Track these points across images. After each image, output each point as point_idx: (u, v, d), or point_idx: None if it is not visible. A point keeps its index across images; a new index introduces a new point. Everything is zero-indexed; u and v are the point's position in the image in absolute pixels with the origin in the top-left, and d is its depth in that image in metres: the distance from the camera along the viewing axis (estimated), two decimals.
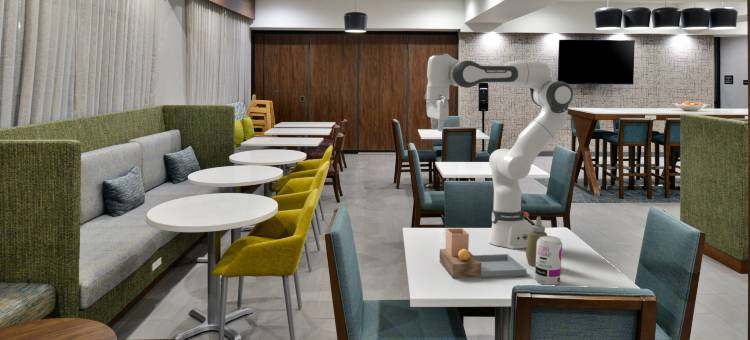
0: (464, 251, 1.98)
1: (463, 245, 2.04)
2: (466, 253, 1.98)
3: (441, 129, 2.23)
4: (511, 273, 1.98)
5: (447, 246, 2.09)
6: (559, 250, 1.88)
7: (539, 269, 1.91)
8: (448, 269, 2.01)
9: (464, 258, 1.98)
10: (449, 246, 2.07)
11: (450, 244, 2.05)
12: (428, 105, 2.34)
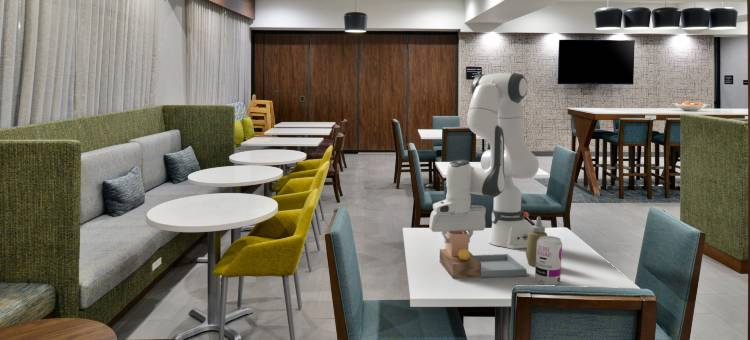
0: (464, 251, 1.98)
1: (463, 245, 2.04)
2: (466, 253, 1.98)
3: None
4: (511, 273, 1.98)
5: (447, 246, 2.09)
6: (559, 250, 1.88)
7: (539, 269, 1.91)
8: (448, 269, 2.01)
9: (464, 258, 1.98)
10: (449, 246, 2.07)
11: (450, 244, 2.05)
12: (438, 219, 2.04)
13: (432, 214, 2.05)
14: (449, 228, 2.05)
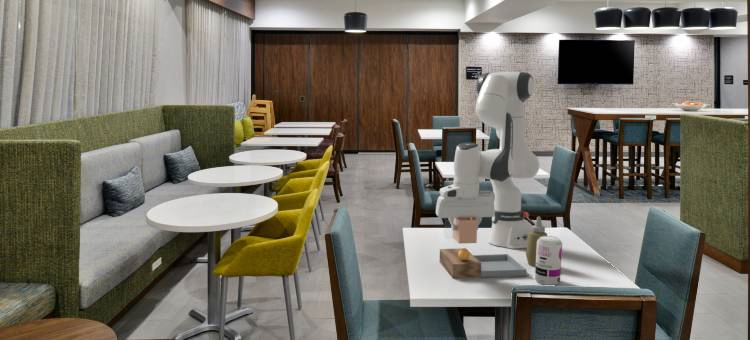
0: (464, 251, 1.98)
1: (471, 232, 1.94)
2: (466, 253, 1.98)
3: None
4: (511, 273, 1.98)
5: (454, 233, 1.99)
6: (559, 250, 1.88)
7: (539, 269, 1.91)
8: (448, 269, 2.01)
9: (464, 258, 1.98)
10: (456, 233, 1.97)
11: (458, 231, 1.95)
12: (445, 204, 1.94)
13: (439, 199, 1.95)
14: (457, 214, 1.95)
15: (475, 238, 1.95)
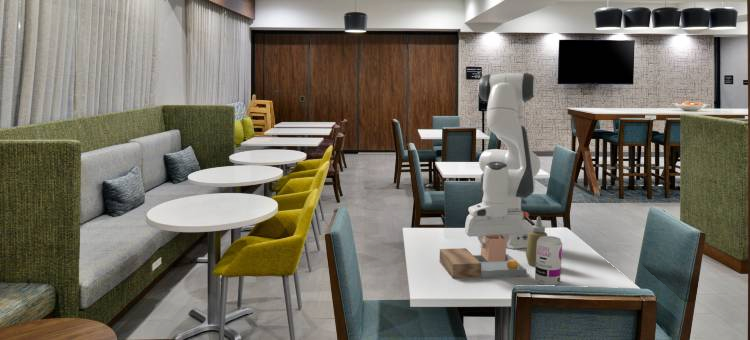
0: None
1: (500, 250, 1.97)
2: None
3: None
4: (511, 273, 1.98)
5: (483, 251, 2.02)
6: (559, 250, 1.88)
7: (539, 269, 1.91)
8: (448, 269, 2.01)
9: (515, 264, 2.01)
10: (485, 251, 2.00)
11: (487, 249, 1.98)
12: (475, 223, 1.97)
13: (468, 218, 1.98)
14: (486, 232, 1.98)
15: (503, 256, 1.98)
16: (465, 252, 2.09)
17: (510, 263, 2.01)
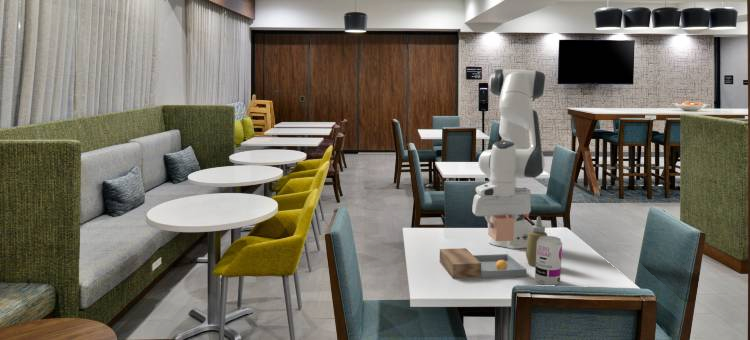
0: (506, 264, 2.01)
1: (508, 230, 1.97)
2: (505, 267, 2.01)
3: None
4: (511, 273, 1.98)
5: (490, 231, 2.02)
6: (559, 250, 1.88)
7: (539, 269, 1.91)
8: (448, 269, 2.01)
9: (500, 267, 2.00)
10: (493, 230, 1.99)
11: (494, 229, 1.97)
12: (482, 202, 1.96)
13: (475, 198, 1.97)
14: (493, 212, 1.97)
15: (511, 235, 1.97)
16: (465, 252, 2.09)
17: None
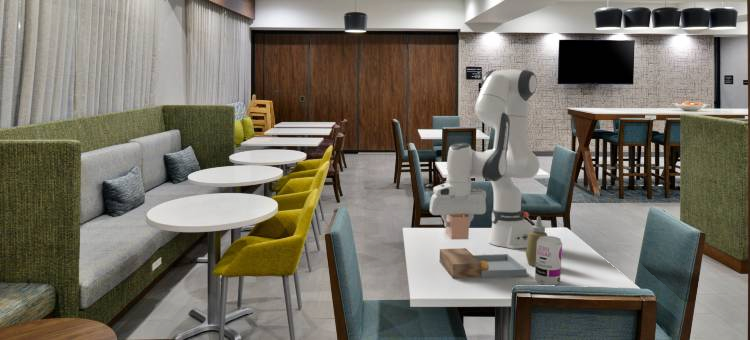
0: None
1: (463, 228, 2.03)
2: (481, 268, 1.99)
3: None
4: (511, 273, 1.98)
5: (447, 230, 2.08)
6: (559, 250, 1.88)
7: (539, 269, 1.91)
8: (448, 269, 2.01)
9: (487, 267, 2.00)
10: (449, 229, 2.06)
11: (450, 227, 2.04)
12: (438, 202, 2.03)
13: (432, 197, 2.04)
14: (449, 211, 2.04)
15: (466, 234, 2.04)
16: (465, 252, 2.09)
17: (484, 262, 2.00)
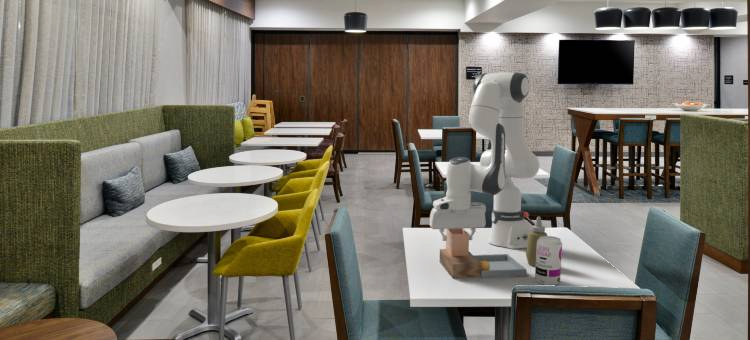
0: (481, 269, 2.00)
1: (463, 245, 2.04)
2: (483, 267, 1.99)
3: None
4: (511, 273, 1.98)
5: (447, 246, 2.09)
6: (559, 250, 1.88)
7: (539, 269, 1.91)
8: (448, 269, 2.01)
9: (488, 267, 2.00)
10: (449, 245, 2.07)
11: (450, 244, 2.05)
12: (438, 216, 2.04)
13: (432, 211, 2.05)
14: (449, 225, 2.05)
15: (466, 250, 2.05)
16: None
17: (486, 262, 2.00)
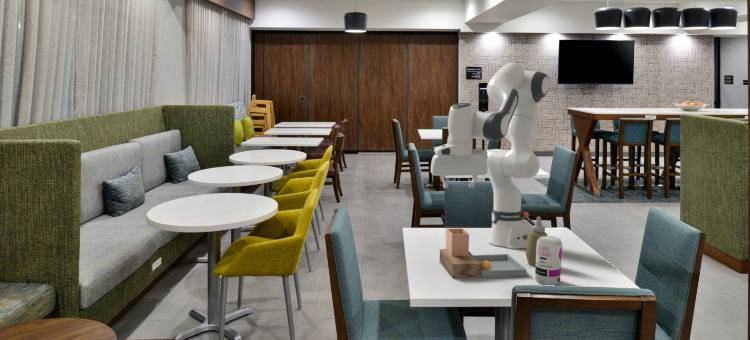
0: (482, 268, 2.00)
1: (463, 245, 2.04)
2: (484, 267, 1.99)
3: None
4: (511, 273, 1.98)
5: (447, 246, 2.09)
6: (559, 250, 1.88)
7: (539, 269, 1.91)
8: (448, 269, 2.01)
9: (489, 268, 2.00)
10: (449, 245, 2.07)
11: (450, 244, 2.05)
12: (439, 162, 2.01)
13: (433, 158, 2.02)
14: (451, 172, 2.02)
15: (466, 250, 2.05)
16: None
17: (488, 263, 2.00)
